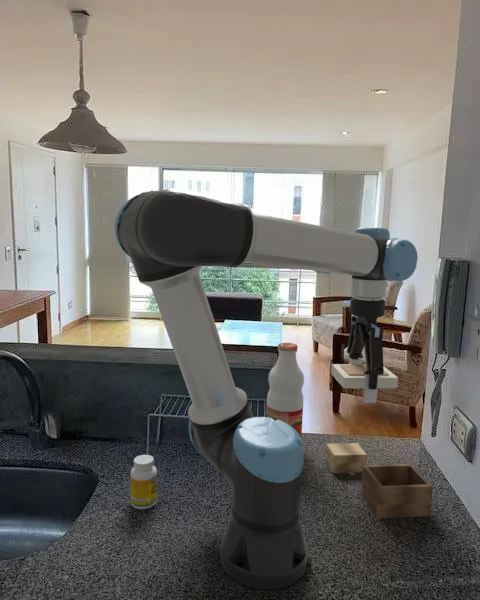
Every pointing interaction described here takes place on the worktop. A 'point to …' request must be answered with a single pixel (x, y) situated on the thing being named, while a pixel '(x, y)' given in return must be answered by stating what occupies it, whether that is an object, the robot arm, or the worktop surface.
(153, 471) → the supplement bottle
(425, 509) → the box
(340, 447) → the block
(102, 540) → the worktop surface
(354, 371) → the lid
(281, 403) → the fruit juice
